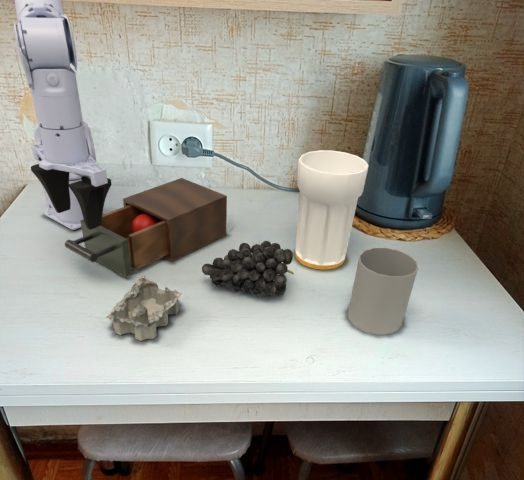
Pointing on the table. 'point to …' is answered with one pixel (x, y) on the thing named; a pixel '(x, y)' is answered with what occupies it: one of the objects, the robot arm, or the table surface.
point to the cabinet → (185, 214)
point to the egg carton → (144, 309)
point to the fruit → (252, 269)
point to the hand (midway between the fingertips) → (78, 218)
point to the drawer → (122, 241)
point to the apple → (143, 222)
